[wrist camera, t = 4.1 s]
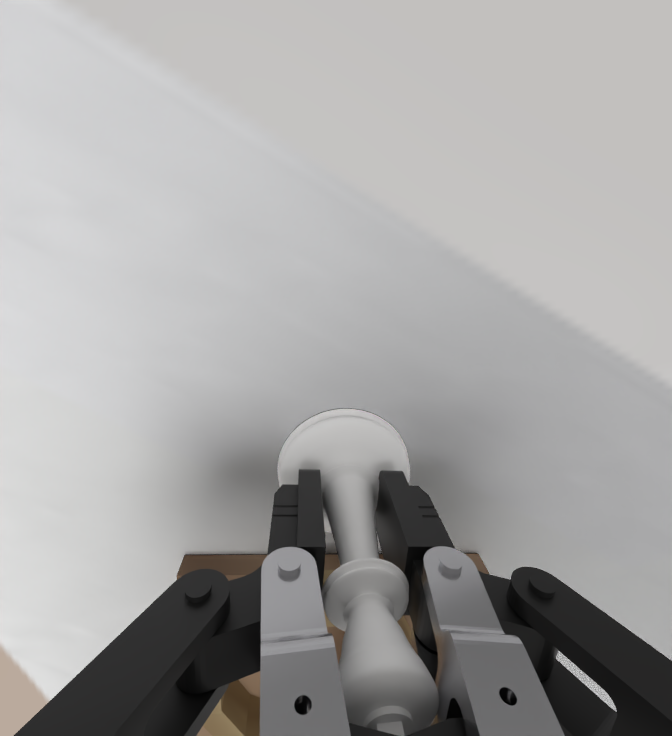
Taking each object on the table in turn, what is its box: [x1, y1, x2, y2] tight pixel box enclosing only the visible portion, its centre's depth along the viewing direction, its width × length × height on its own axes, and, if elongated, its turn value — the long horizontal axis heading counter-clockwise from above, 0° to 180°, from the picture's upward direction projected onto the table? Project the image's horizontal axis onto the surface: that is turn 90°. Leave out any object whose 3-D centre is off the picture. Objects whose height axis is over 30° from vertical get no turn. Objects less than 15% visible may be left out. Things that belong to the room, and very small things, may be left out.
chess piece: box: [277, 409, 439, 736], centre depth 10 cm, size 5×5×10 cm
